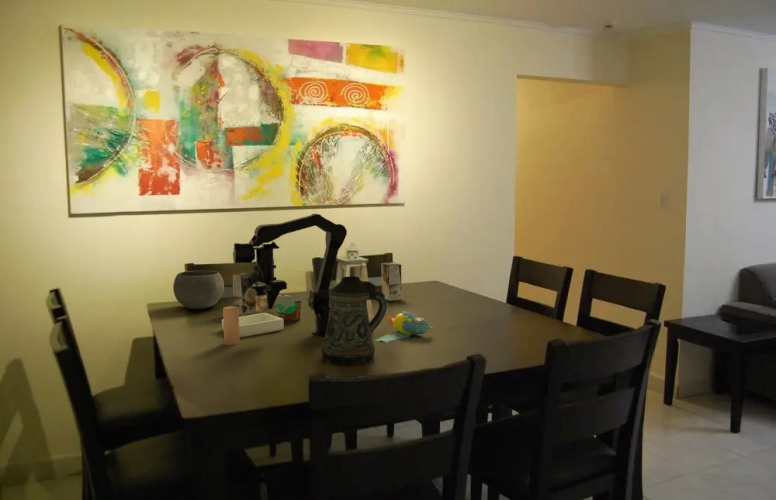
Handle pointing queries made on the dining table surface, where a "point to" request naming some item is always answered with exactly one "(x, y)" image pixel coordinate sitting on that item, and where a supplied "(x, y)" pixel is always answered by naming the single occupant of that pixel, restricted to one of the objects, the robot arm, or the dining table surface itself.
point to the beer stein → (351, 323)
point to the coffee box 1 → (243, 296)
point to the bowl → (198, 288)
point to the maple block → (263, 304)
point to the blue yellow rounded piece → (405, 326)
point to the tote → (258, 324)
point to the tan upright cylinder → (231, 325)
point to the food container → (289, 307)
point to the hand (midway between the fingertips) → (266, 307)
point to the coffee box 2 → (391, 280)
